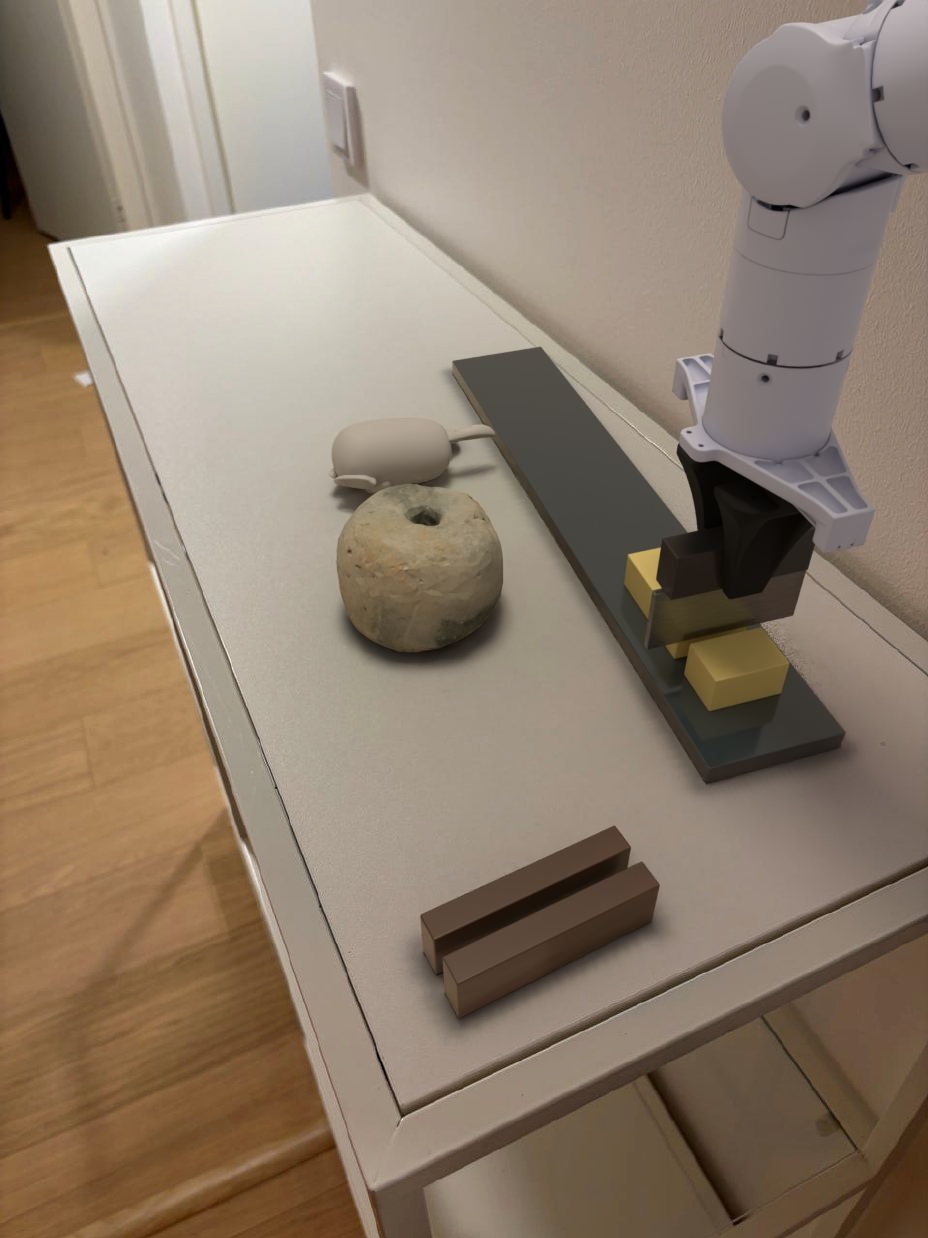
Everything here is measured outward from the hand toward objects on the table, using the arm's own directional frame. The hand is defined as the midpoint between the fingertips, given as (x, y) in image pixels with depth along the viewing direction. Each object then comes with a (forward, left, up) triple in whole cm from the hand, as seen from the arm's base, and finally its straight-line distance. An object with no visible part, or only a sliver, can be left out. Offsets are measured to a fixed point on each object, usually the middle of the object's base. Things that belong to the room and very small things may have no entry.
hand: (731, 577), depth 51 cm
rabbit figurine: (+28, 0, -7) cm, 29 cm away
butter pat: (-2, +1, -6) cm, 6 cm away
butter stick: (+4, -2, -6) cm, 7 cm away
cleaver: (0, 0, -4) cm, 4 cm away
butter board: (+14, -7, -7) cm, 17 cm away
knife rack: (-5, +19, -7) cm, 21 cm away
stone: (+16, +9, -7) cm, 19 cm away
